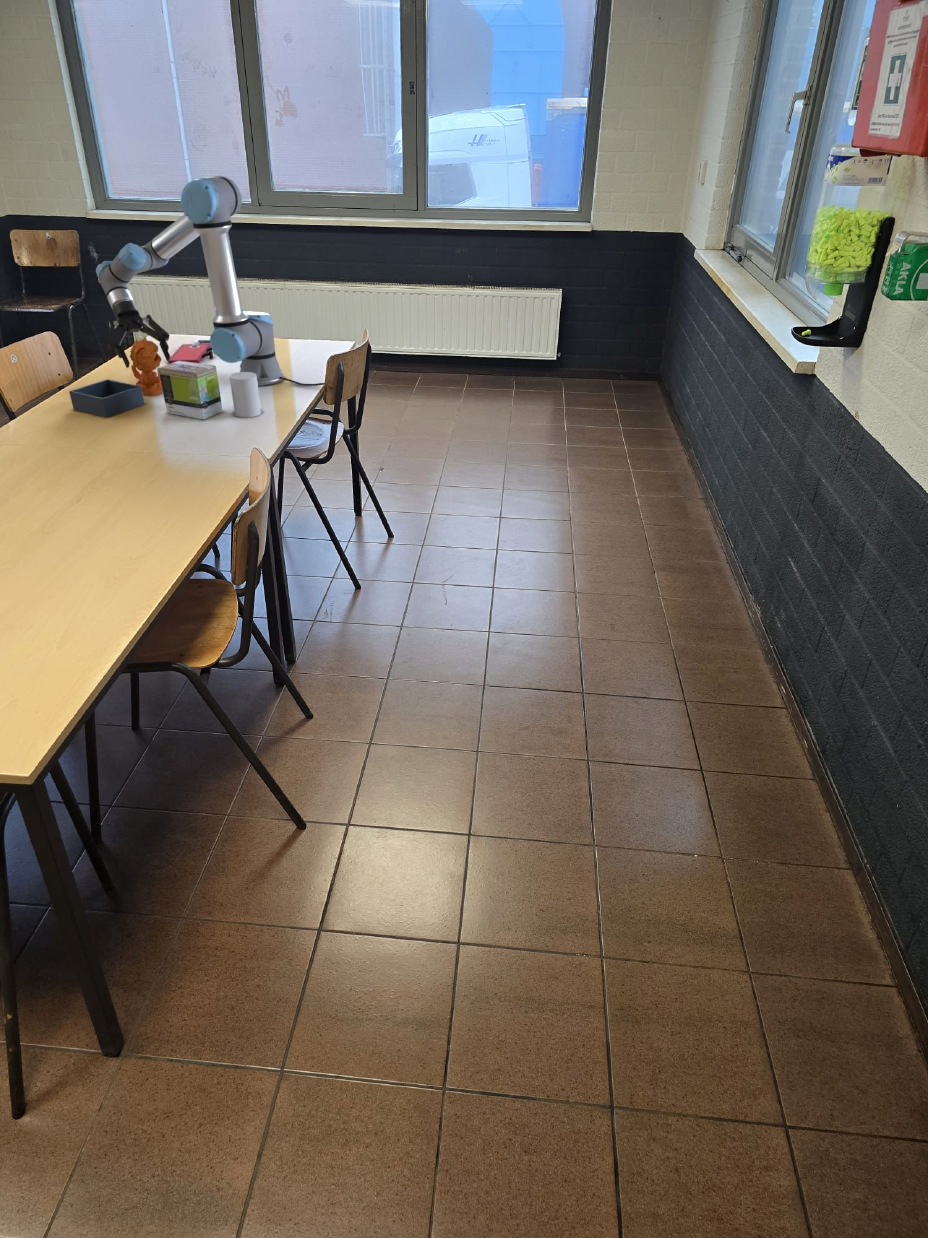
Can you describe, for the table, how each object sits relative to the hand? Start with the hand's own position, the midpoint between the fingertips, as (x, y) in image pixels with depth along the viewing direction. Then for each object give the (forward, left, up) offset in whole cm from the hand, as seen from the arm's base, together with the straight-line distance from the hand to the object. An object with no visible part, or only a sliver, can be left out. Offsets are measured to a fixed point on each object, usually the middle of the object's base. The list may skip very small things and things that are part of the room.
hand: (148, 361), depth 277 cm
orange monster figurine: (+2, -1, -11) cm, 11 cm away
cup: (-41, -1, -11) cm, 42 cm away
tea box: (-26, +7, -11) cm, 29 cm away
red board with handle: (+24, -46, -11) cm, 53 cm away
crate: (+2, +17, -11) cm, 20 cm away
